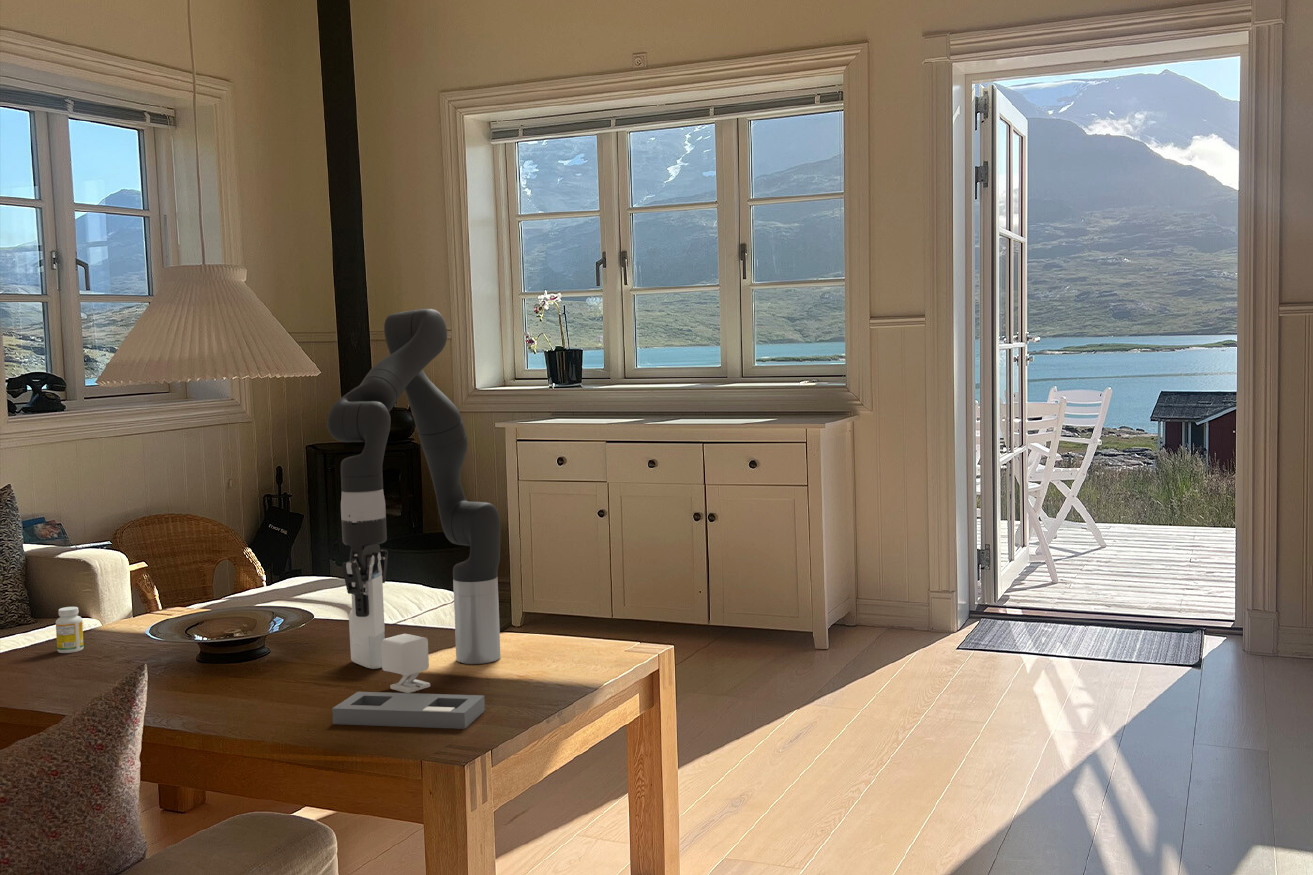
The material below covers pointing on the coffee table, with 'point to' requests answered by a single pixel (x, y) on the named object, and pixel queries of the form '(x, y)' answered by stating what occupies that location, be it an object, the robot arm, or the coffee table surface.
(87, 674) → the coffee table surface
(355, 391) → the robot arm
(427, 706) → the socket panel
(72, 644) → the supplement bottle
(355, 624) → the plug
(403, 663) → the white cube on bracket
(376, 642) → the photo printer
